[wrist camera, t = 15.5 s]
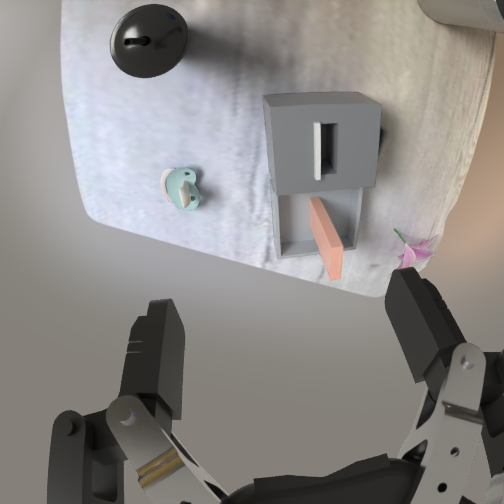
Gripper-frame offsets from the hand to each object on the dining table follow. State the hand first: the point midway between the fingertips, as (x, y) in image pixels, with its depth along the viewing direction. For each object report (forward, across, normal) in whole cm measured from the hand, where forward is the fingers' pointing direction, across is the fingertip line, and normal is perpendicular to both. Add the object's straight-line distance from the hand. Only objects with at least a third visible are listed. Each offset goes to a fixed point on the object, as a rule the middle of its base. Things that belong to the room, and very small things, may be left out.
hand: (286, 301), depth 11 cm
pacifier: (+36, +11, +12) cm, 40 cm away
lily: (+36, -30, +29) cm, 55 cm away
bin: (+36, -10, +20) cm, 42 cm away
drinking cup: (+36, +8, -10) cm, 38 cm away
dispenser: (+36, -10, +6) cm, 38 cm away
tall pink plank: (+36, -10, +20) cm, 42 cm away
